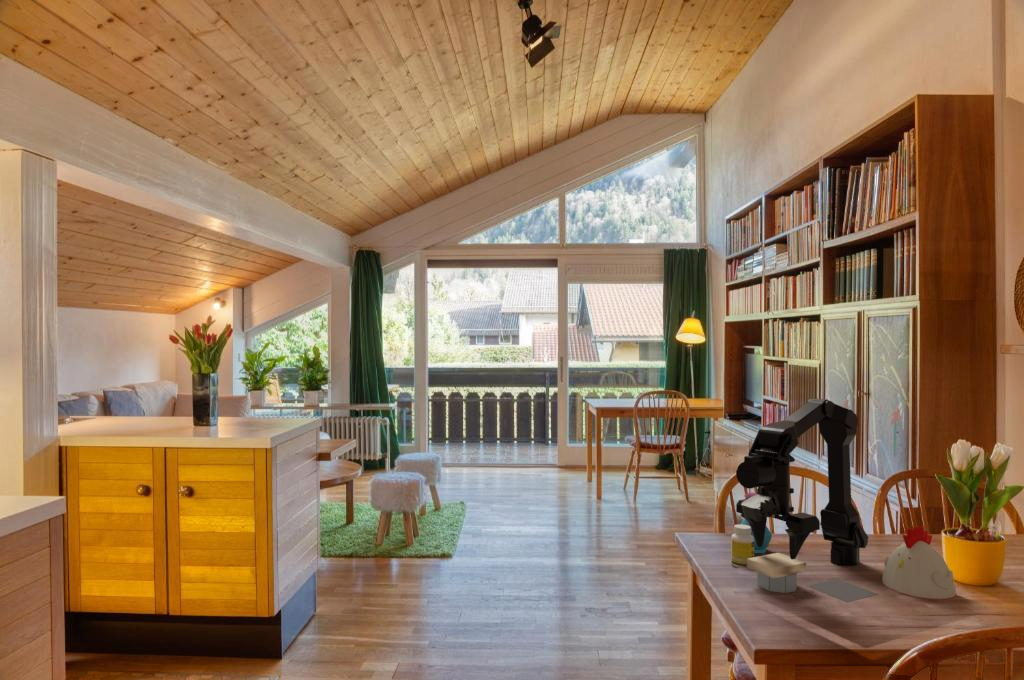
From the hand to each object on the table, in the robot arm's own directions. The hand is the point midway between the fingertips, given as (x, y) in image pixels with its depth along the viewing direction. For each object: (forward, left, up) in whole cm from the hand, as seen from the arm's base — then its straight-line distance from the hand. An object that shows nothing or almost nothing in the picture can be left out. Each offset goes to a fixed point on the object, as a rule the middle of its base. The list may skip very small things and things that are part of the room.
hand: (775, 552), depth 142 cm
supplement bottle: (-6, -16, -9) cm, 19 cm away
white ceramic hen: (-28, +14, -9) cm, 33 cm away
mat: (-11, +8, -9) cm, 16 cm away
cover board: (0, 0, -4) cm, 4 cm away
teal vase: (-18, -24, -9) cm, 31 cm away
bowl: (0, 0, -9) cm, 9 cm away
